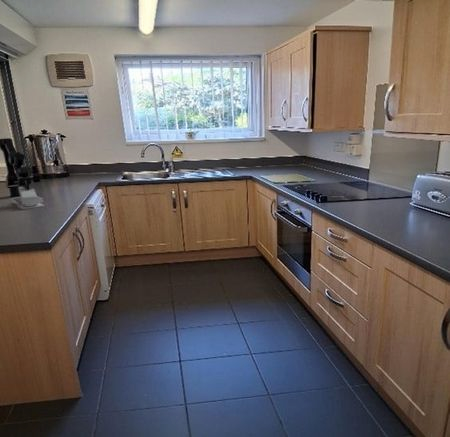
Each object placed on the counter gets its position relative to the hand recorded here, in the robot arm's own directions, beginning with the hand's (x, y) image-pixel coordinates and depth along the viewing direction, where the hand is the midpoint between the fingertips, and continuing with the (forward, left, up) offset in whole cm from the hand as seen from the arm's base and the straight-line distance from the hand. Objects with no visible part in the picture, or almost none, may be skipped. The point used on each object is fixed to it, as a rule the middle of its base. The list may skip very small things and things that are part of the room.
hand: (28, 189), depth 221 cm
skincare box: (-3, -2, -3) cm, 5 cm away
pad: (+7, 0, -9) cm, 12 cm away
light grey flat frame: (-9, -3, -9) cm, 13 cm away
